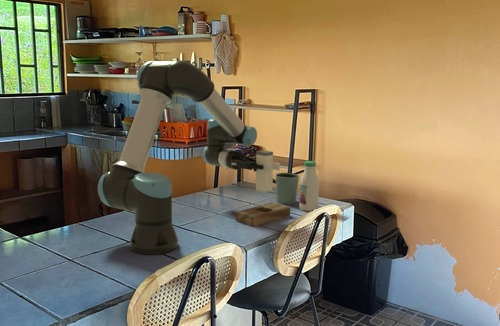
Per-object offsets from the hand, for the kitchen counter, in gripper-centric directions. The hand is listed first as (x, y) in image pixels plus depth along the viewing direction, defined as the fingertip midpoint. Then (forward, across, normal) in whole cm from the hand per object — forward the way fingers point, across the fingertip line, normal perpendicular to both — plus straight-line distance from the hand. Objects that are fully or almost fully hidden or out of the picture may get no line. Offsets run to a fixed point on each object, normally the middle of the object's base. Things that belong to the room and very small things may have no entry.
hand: (274, 167), depth 182 cm
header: (-5, 0, -21) cm, 21 cm away
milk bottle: (-1, -23, -21) cm, 31 cm away
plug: (-5, 0, -10) cm, 11 cm away
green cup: (-15, -25, -21) cm, 36 cm away
